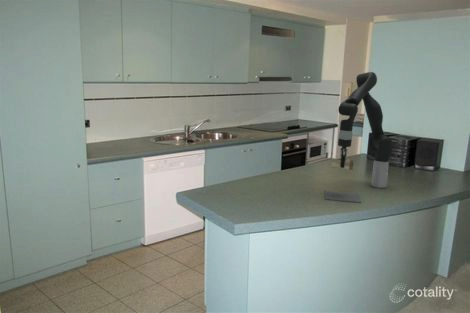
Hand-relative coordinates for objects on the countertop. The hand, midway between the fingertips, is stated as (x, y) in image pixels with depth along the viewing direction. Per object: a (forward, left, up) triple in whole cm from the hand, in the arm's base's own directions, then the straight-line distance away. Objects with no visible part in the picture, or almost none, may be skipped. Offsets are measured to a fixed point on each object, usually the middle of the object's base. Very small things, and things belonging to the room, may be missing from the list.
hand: (342, 166), depth 238 cm
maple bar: (0, 0, -1) cm, 1 cm away
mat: (-1, +3, -18) cm, 18 cm away
